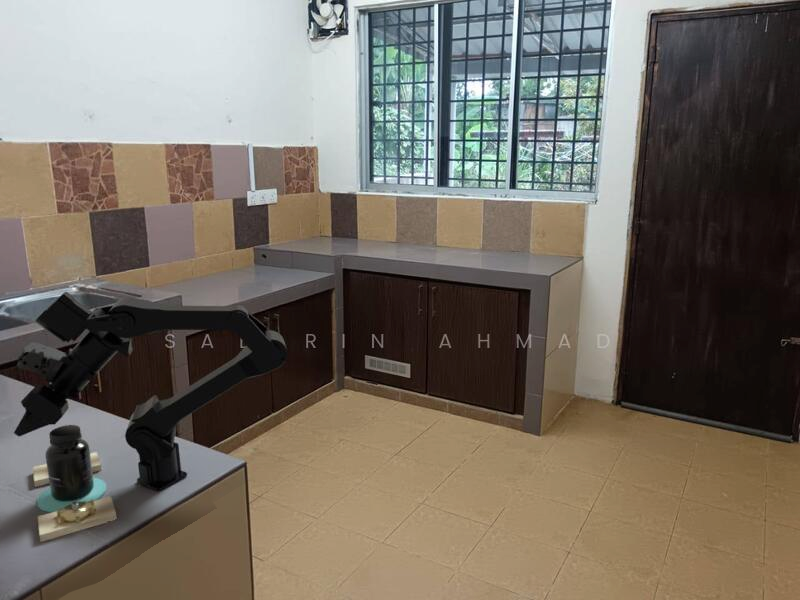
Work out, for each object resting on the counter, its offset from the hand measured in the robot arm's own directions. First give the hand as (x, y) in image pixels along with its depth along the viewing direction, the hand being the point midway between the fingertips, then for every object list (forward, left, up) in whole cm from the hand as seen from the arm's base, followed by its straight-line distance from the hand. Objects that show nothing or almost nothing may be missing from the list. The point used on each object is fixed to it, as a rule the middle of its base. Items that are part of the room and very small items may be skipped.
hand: (26, 422), depth 106 cm
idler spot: (-3, +5, -14) cm, 15 cm away
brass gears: (-3, +5, -13) cm, 14 cm away
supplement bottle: (-3, +5, -14) cm, 15 cm away
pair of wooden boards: (-3, +5, -14) cm, 15 cm away
